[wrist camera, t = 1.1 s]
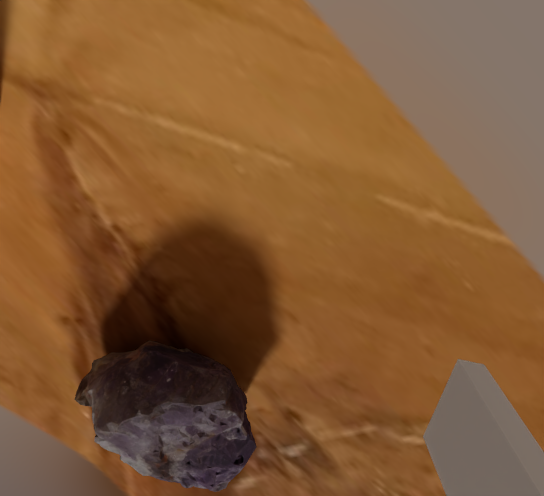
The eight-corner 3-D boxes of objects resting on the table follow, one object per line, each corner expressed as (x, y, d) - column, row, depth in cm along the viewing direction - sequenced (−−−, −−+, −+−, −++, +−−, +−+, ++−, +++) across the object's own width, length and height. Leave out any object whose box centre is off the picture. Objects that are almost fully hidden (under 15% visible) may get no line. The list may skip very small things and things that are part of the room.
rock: (206, 434, 44) (277, 351, 41) (206, 532, 36) (294, 438, 33) (74, 380, 40) (141, 282, 36) (40, 477, 32) (122, 362, 28)
